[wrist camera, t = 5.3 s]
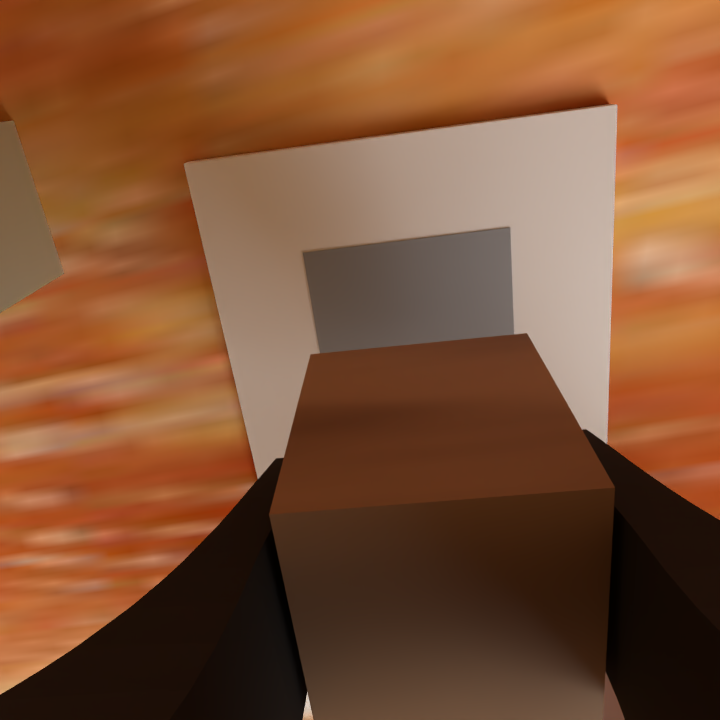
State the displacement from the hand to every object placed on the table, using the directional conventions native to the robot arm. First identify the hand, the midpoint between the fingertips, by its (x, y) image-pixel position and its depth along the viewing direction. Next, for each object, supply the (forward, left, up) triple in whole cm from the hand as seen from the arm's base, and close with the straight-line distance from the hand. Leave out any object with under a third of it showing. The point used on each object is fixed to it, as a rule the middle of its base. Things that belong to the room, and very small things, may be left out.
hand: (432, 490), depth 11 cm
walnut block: (0, 0, -2) cm, 2 cm away
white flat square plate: (0, 0, -8) cm, 8 cm away
